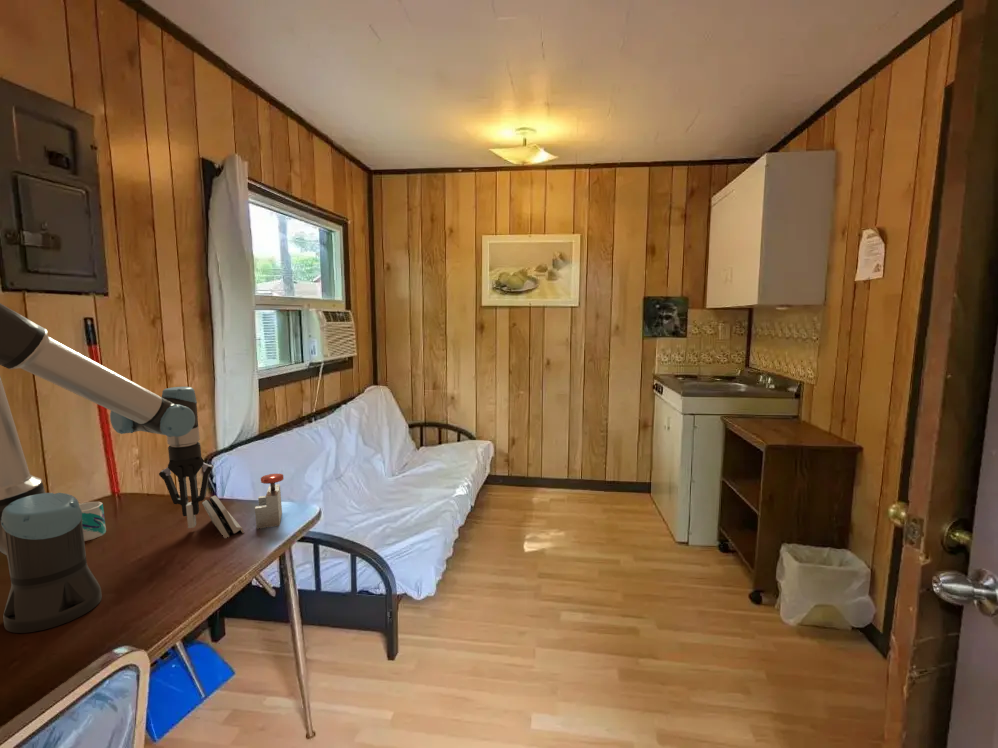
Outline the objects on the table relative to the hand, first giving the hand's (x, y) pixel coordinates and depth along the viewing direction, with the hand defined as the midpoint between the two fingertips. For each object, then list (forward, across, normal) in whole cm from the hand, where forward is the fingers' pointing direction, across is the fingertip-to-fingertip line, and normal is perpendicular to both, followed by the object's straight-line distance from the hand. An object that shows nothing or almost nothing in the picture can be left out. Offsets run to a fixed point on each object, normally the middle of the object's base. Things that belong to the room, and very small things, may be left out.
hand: (192, 525), depth 142 cm
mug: (+2, +28, -10) cm, 30 cm away
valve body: (+2, -20, 0) cm, 20 cm away
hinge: (+2, -7, 0) cm, 8 cm away
